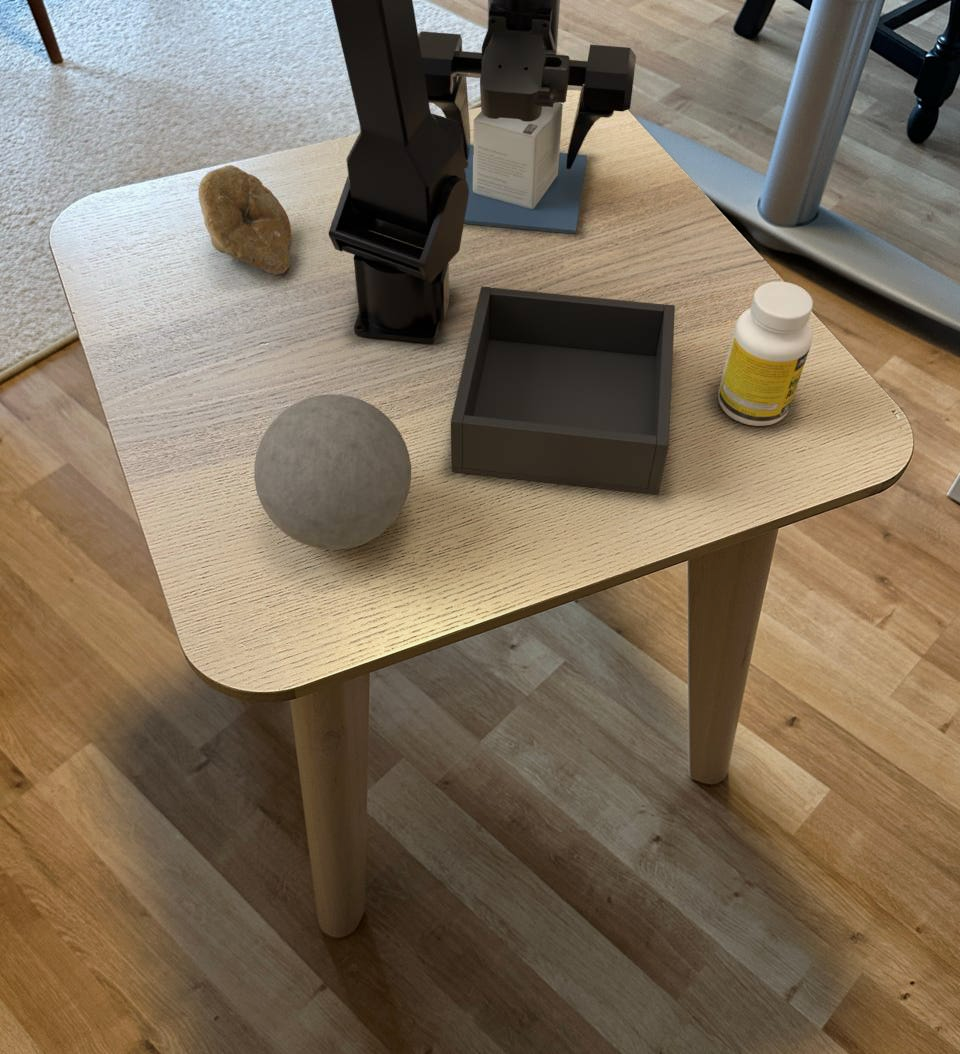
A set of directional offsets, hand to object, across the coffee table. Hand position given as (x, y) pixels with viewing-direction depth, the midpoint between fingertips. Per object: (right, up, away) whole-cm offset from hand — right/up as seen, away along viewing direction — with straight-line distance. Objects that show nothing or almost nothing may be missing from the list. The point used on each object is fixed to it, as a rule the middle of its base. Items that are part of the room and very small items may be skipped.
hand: (517, 162), depth 96 cm
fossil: (-23, -9, -4) cm, 25 cm away
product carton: (0, -2, +2) cm, 3 cm away
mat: (0, -2, +2) cm, 3 cm away
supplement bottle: (+17, -23, -15) cm, 33 cm away
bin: (+3, -24, -16) cm, 29 cm away
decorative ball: (-13, -32, -23) cm, 42 cm away
